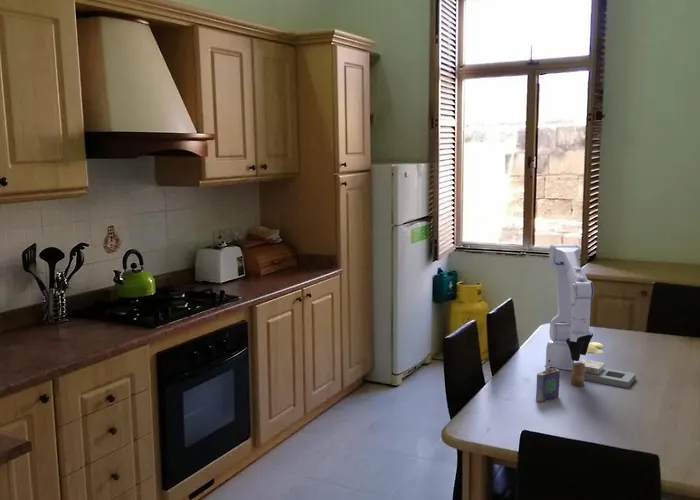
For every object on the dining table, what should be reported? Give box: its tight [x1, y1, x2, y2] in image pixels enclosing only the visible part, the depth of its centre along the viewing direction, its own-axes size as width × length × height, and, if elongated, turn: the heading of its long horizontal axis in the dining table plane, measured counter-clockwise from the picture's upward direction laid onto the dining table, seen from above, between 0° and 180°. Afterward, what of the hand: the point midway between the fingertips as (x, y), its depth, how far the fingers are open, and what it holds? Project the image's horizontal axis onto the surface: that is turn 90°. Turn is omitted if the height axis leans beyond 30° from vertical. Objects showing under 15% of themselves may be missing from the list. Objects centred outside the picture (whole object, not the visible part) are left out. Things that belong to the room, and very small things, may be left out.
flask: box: [535, 365, 561, 403], centre depth 210 cm, size 9×3×11 cm, turn 121°
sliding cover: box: [578, 358, 606, 374], centre depth 231 cm, size 8×8×2 cm
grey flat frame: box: [584, 367, 637, 389], centre depth 229 cm, size 18×10×2 cm, turn 54°
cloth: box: [586, 341, 604, 355], centre depth 263 cm, size 22×19×6 cm
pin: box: [571, 361, 585, 388], centre depth 223 cm, size 4×4×7 cm
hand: (578, 357), depth 222 cm, fingers open, 7 cm apart
